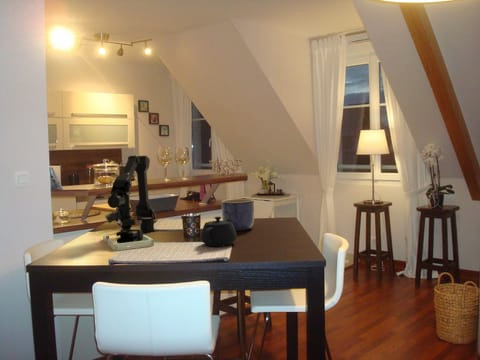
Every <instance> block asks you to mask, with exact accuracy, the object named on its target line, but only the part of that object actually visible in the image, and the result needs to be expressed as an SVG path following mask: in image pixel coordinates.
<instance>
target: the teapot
mask: <svg viewBox="0 0 480 360" xmlns="http://www.w3.org/2000/svg"><path fill="white" fill-rule="evenodd" d="M221 218H222V216H215V217H214V219H215V220H212V221H207V222H204V224H203V227H202V229H201V230H202V231H201V234H200V240H201V242H202V243H203V244H204V245H206V246H208V247H214V248H216V247H217V248H219V247H227V246H231V245H232V244H233V243H234V242H235V241H236V240H237V237H238V236H237V231H235V229H234V226H233V225H232V223H231V222H230V221H231V218H229V219H228V220H227V221H223V220H221Z"/></svg>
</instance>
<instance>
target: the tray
mask: <svg viewBox="0 0 480 360" xmlns="http://www.w3.org/2000/svg"><path fill="white" fill-rule="evenodd" d="M107 245H108V247H110V249H112V250H113V251H114V252H115V251H116V252H117V251H122V250H130V249H137V248H138V249H140V248H145V247H148V248H149V247H154V246H155V242H154V239H153V238H152V237H149V236H147V235H146V234H143V240H142V241H136V242H128V243H117V242H115V241H113V240H112V239H111V238H109V239H108V243H107ZM127 246H130V247H127Z"/></svg>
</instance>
